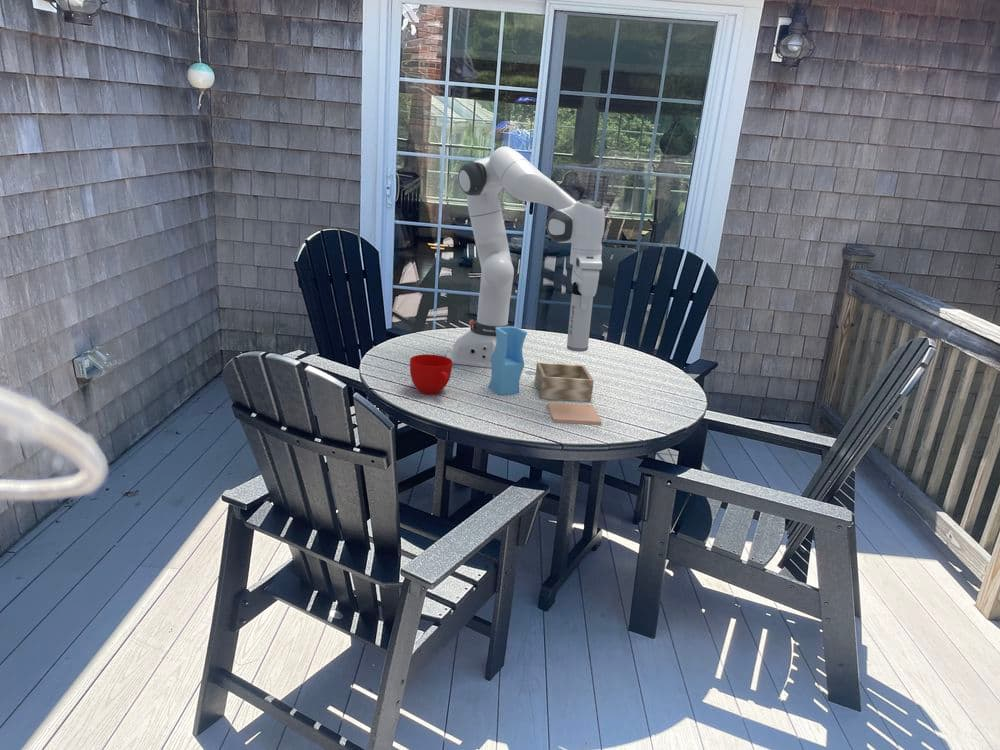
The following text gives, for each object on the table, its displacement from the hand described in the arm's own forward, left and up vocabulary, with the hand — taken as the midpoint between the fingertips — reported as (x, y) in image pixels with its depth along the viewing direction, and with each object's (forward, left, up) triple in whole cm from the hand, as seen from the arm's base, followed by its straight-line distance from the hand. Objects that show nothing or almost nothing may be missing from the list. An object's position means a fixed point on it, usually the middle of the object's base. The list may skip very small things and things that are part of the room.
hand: (581, 305), depth 211 cm
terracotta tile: (+1, -6, -32) cm, 32 cm away
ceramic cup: (-41, +6, -32) cm, 53 cm away
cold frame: (+1, +15, -32) cm, 35 cm away
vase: (-18, +13, -32) cm, 39 cm away
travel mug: (0, 0, -13) cm, 13 cm away
